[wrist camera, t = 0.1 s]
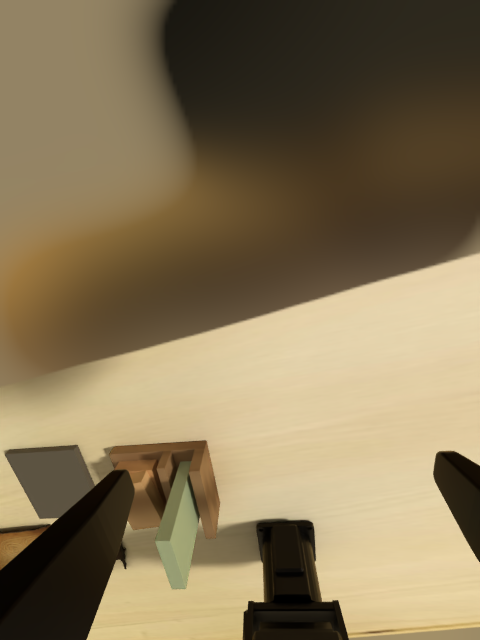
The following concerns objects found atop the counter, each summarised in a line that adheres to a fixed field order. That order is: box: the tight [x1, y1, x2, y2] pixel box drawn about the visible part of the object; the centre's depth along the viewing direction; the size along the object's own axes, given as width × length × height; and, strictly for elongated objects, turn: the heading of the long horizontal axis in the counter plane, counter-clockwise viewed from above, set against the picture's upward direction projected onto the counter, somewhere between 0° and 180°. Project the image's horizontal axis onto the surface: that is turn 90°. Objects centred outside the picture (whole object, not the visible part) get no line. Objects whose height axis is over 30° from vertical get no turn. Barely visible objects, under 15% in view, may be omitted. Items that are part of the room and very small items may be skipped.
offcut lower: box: [115, 459, 167, 507], centre depth 26 cm, size 7×4×1 cm, turn 7°
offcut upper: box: [128, 470, 166, 530], centre depth 25 cm, size 6×3×1 cm, turn 15°
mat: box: [5, 445, 95, 519], centre depth 29 cm, size 10×8×1 cm
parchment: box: [0, 524, 127, 570], centre depth 33 cm, size 25×10×1 cm, turn 103°
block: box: [155, 461, 200, 589], centre depth 23 cm, size 6×1×7 cm, turn 7°
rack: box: [109, 441, 220, 539], centre depth 26 cm, size 9×10×4 cm
